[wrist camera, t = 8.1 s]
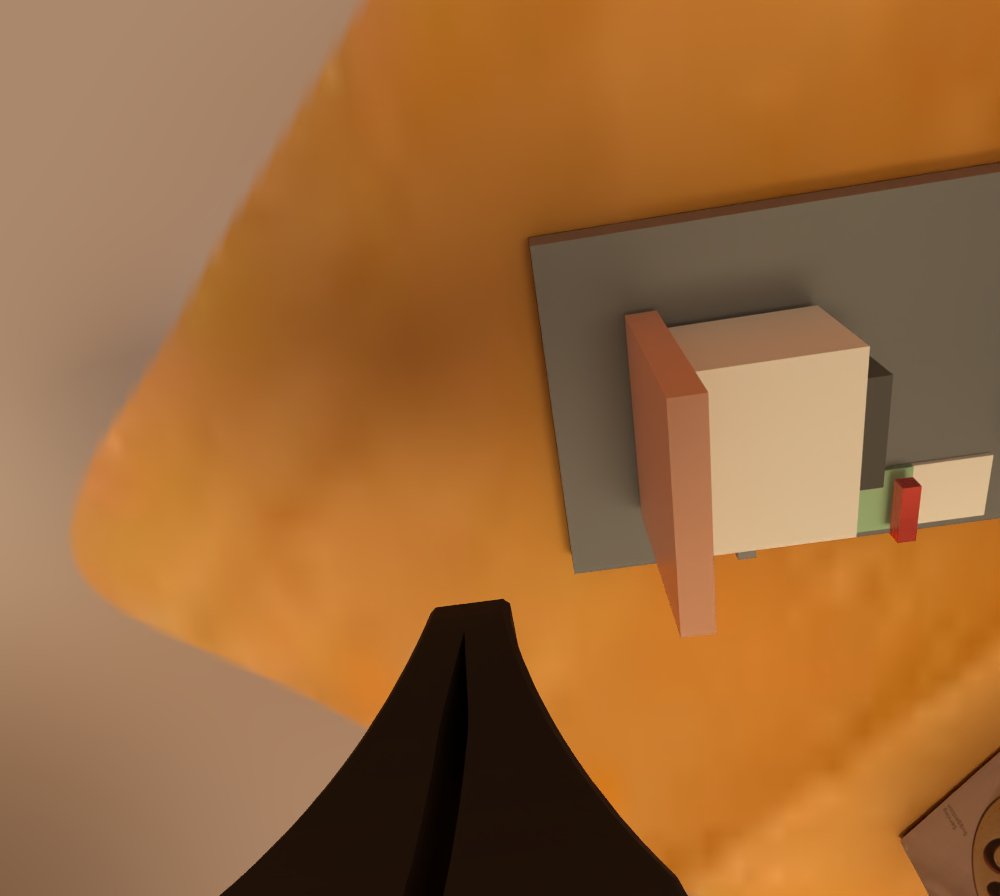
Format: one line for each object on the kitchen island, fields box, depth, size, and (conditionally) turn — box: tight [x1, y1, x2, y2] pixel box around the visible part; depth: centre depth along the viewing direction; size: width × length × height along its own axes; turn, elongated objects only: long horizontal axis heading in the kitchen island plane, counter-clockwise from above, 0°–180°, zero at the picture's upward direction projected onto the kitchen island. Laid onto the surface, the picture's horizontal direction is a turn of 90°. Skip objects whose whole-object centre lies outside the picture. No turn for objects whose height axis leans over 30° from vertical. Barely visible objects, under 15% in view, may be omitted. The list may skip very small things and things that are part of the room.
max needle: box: [890, 477, 922, 543], centre depth 21 cm, size 1×2×1 cm, turn 10°
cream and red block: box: [625, 305, 893, 638], centre depth 18 cm, size 6×8×5 cm
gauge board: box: [528, 162, 1000, 574], centre depth 19 cm, size 16×10×6 cm, turn 99°
